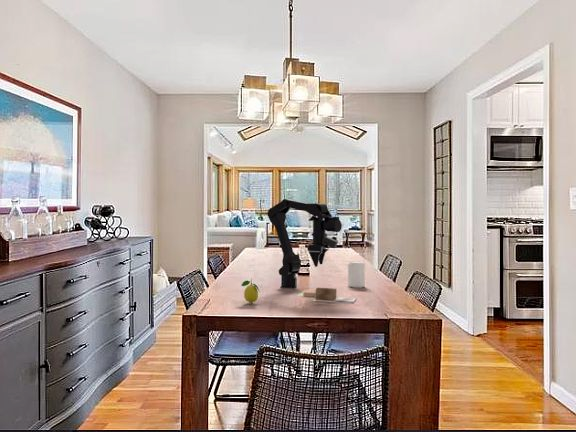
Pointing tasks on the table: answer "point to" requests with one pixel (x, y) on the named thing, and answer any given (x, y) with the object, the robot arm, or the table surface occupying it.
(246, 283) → the lemon
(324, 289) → the turner
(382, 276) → the table surface
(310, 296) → the felt mat
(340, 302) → the tool pad
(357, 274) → the grey cylinder
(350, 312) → the table surface
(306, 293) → the tile
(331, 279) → the table surface
